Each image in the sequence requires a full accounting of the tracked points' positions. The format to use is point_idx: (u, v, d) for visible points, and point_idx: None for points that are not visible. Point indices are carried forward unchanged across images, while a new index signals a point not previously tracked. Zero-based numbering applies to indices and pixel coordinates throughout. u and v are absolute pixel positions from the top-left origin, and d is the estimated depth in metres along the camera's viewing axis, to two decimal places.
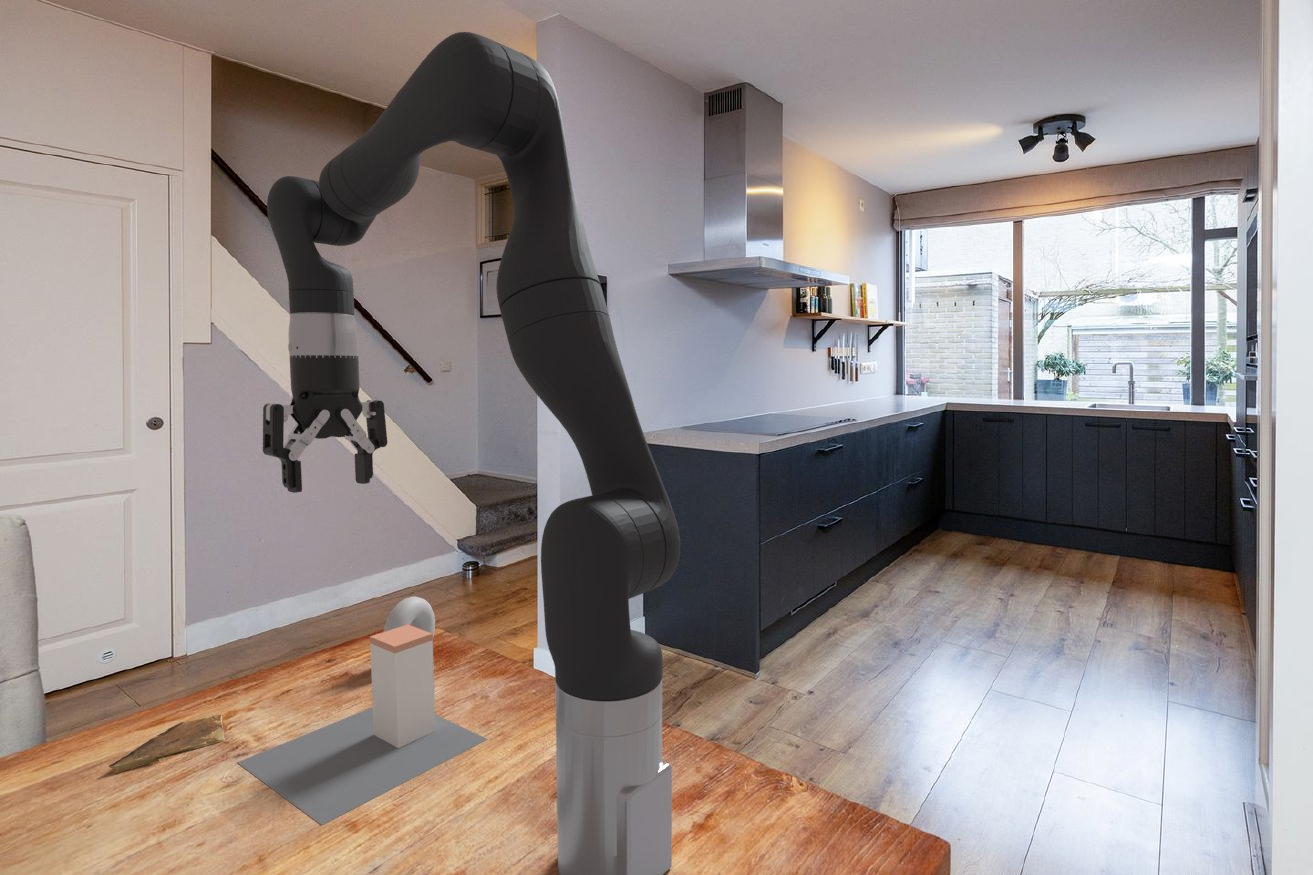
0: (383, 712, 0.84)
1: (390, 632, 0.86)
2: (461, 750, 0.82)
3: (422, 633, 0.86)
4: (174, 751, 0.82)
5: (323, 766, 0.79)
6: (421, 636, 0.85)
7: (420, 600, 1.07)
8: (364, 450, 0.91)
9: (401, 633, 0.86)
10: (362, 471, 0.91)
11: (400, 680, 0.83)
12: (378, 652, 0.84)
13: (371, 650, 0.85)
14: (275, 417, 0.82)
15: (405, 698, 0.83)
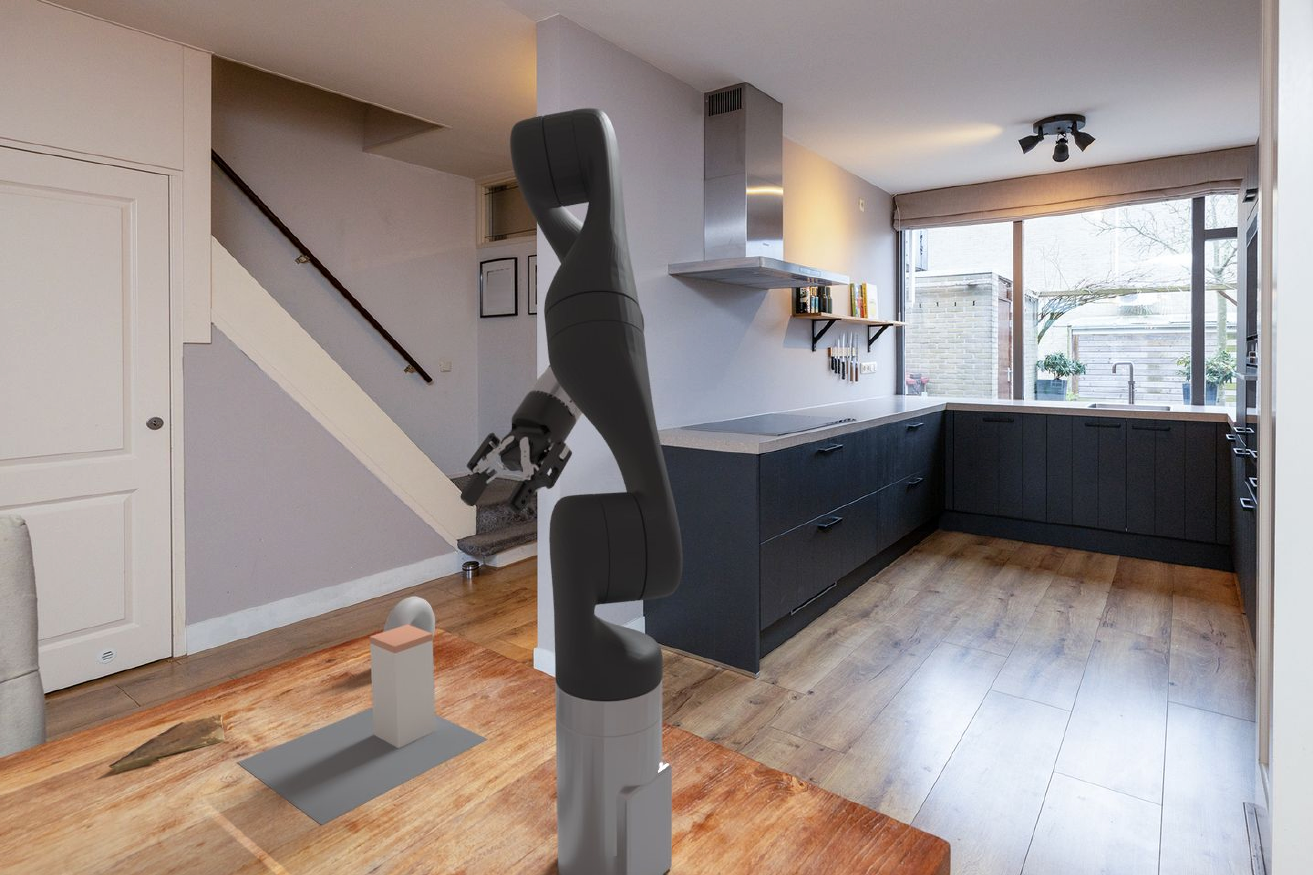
0: (383, 712, 0.84)
1: (390, 632, 0.86)
2: (461, 750, 0.82)
3: (422, 633, 0.86)
4: (174, 751, 0.82)
5: (323, 766, 0.79)
6: (421, 636, 0.85)
7: (420, 600, 1.07)
8: None
9: (401, 633, 0.86)
10: None
11: (400, 680, 0.83)
12: (378, 652, 0.84)
13: (371, 650, 0.85)
14: (485, 441, 0.97)
15: (405, 698, 0.83)
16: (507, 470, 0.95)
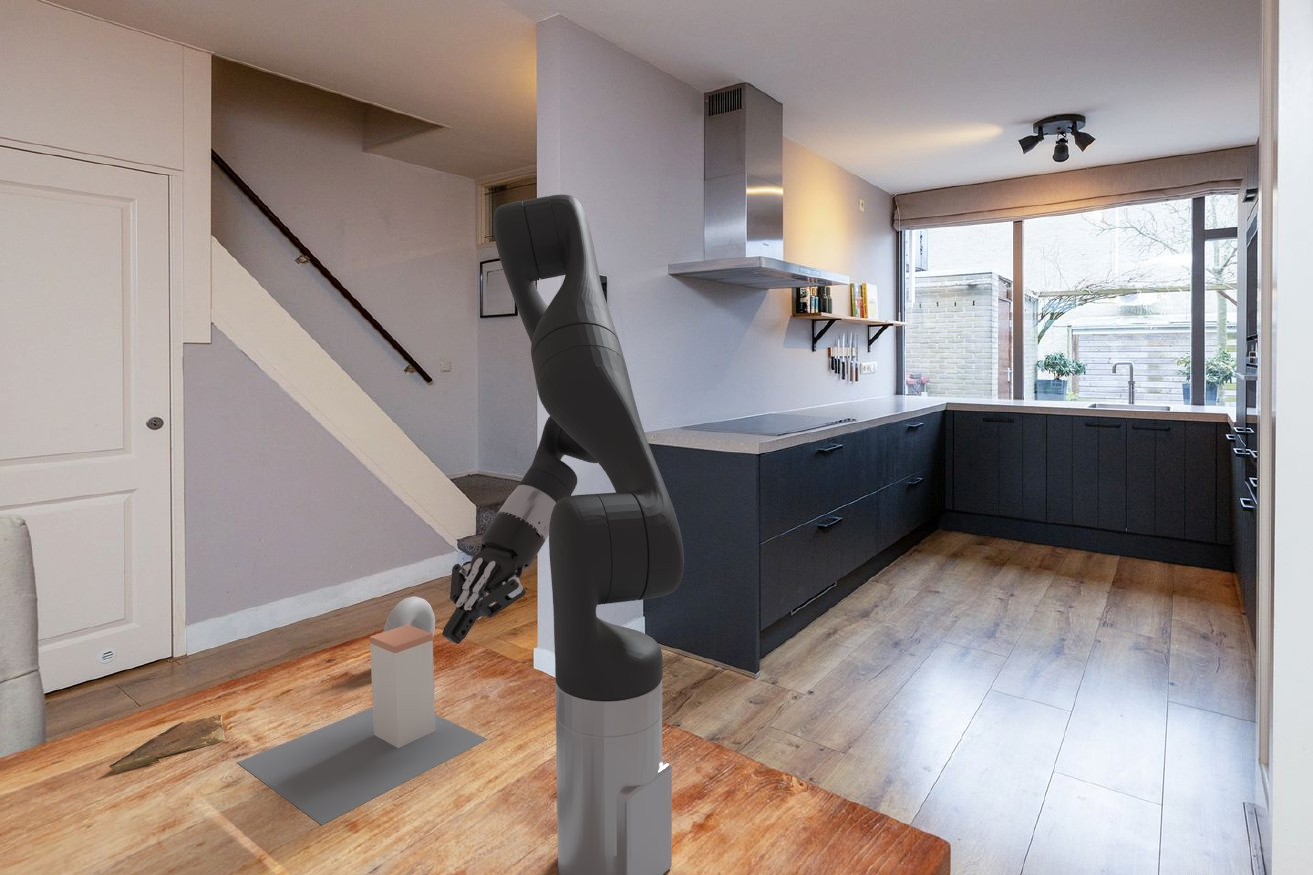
0: (383, 712, 0.84)
1: (390, 632, 0.86)
2: (461, 750, 0.82)
3: (422, 633, 0.86)
4: (174, 751, 0.82)
5: (323, 766, 0.79)
6: (421, 636, 0.85)
7: (420, 600, 1.07)
8: None
9: (401, 633, 0.86)
10: None
11: (400, 680, 0.83)
12: (378, 652, 0.84)
13: (371, 650, 0.85)
14: (453, 573, 0.97)
15: (405, 698, 0.83)
16: None
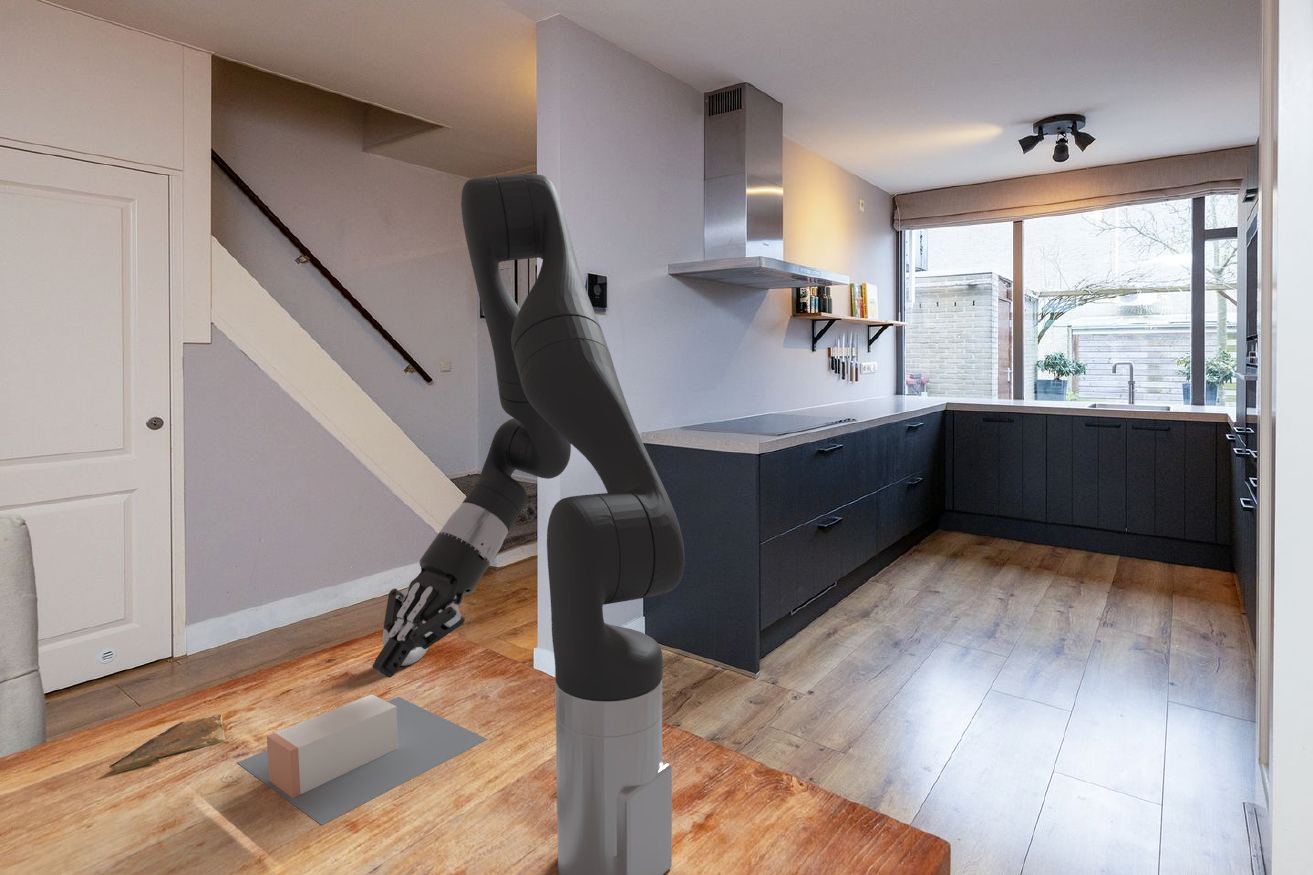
0: None
1: (271, 763, 0.76)
2: (461, 750, 0.82)
3: (285, 754, 0.74)
4: (174, 751, 0.82)
5: None
6: (289, 762, 0.73)
7: None
8: None
9: (277, 761, 0.75)
10: None
11: (332, 773, 0.77)
12: None
13: None
14: (389, 599, 0.90)
15: (353, 759, 0.79)
16: (423, 622, 0.88)
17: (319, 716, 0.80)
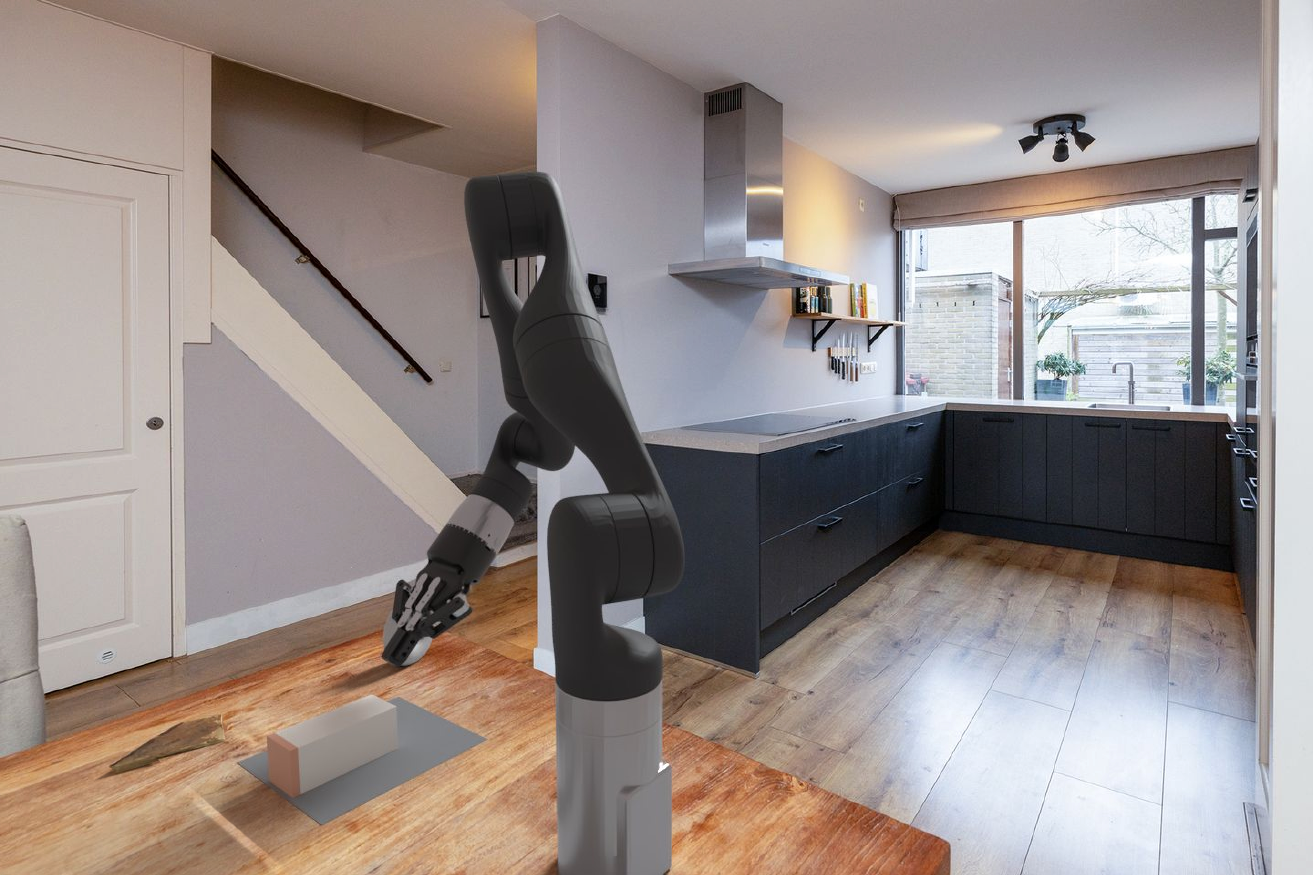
0: None
1: (271, 763, 0.76)
2: (461, 750, 0.82)
3: (285, 754, 0.74)
4: (174, 751, 0.82)
5: None
6: (289, 762, 0.73)
7: None
8: None
9: (277, 761, 0.75)
10: None
11: (332, 773, 0.77)
12: None
13: None
14: (397, 590, 0.91)
15: (353, 759, 0.79)
16: (431, 612, 0.89)
17: (319, 716, 0.80)
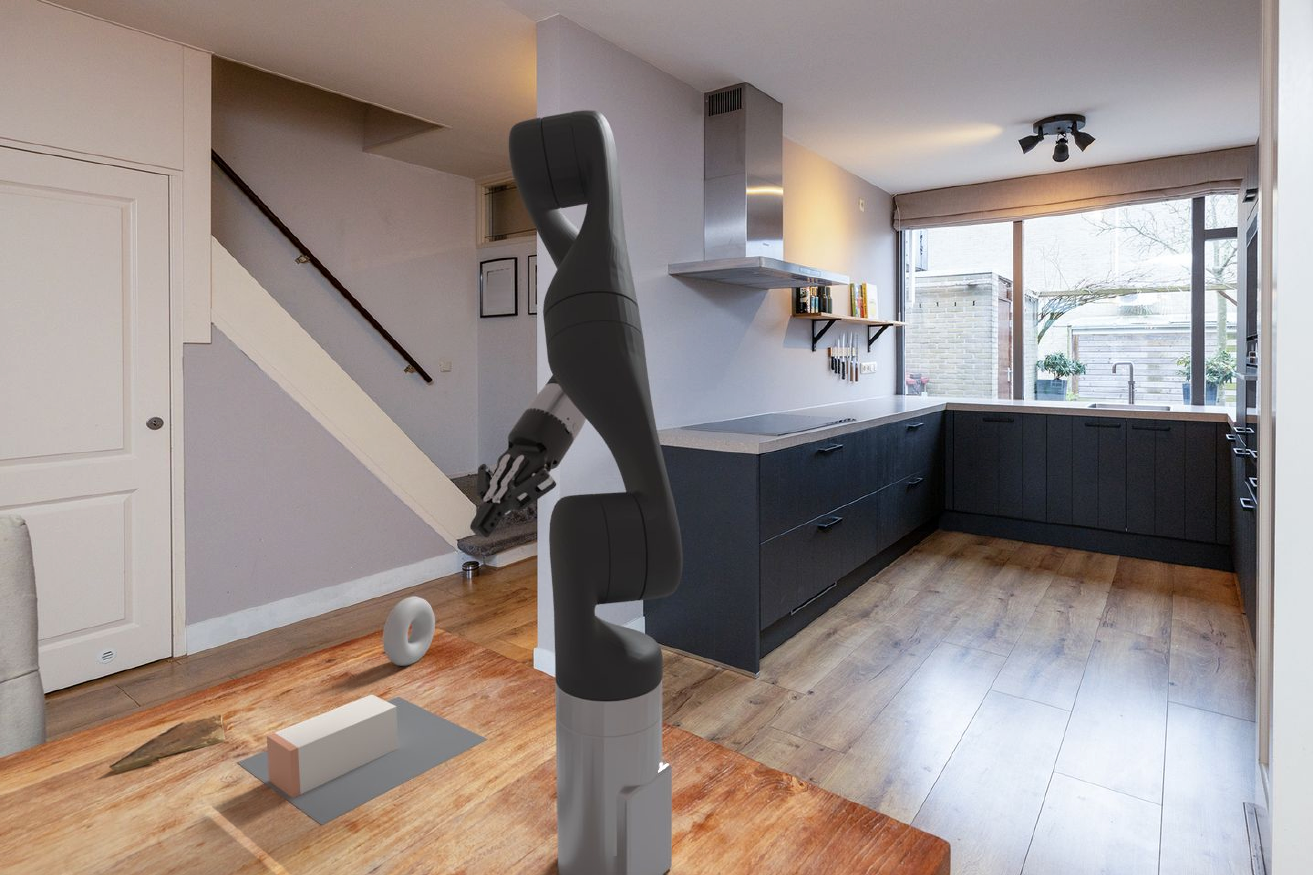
0: None
1: (271, 763, 0.76)
2: (461, 750, 0.82)
3: (285, 754, 0.74)
4: (174, 751, 0.82)
5: None
6: (289, 762, 0.73)
7: (420, 600, 1.07)
8: None
9: (277, 761, 0.75)
10: None
11: (332, 773, 0.77)
12: None
13: None
14: (479, 473, 0.94)
15: (353, 759, 0.79)
16: None
17: (319, 716, 0.80)
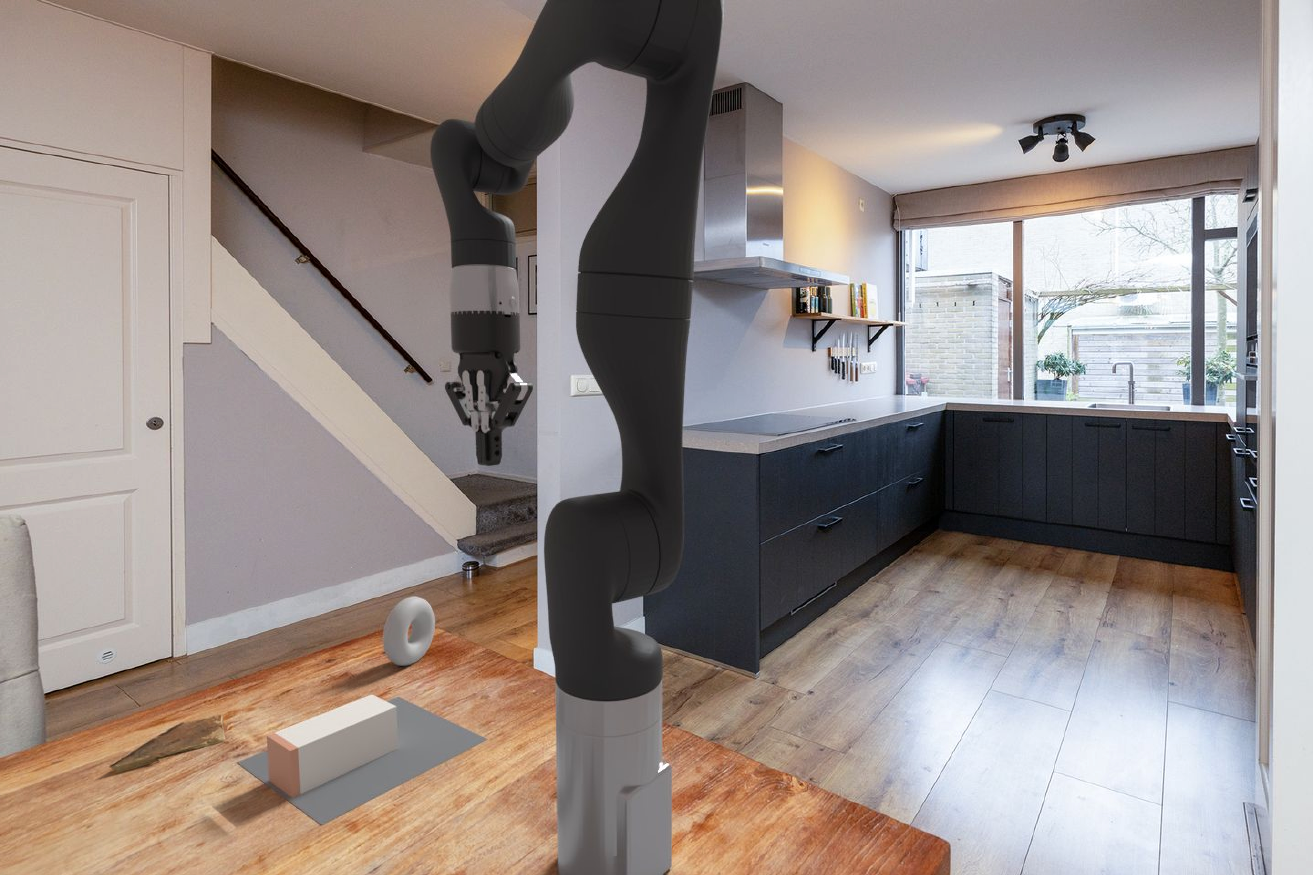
0: None
1: (271, 763, 0.76)
2: (461, 750, 0.82)
3: (285, 754, 0.74)
4: (175, 751, 0.82)
5: None
6: (289, 762, 0.73)
7: (420, 600, 1.07)
8: None
9: (277, 761, 0.75)
10: None
11: (332, 773, 0.77)
12: None
13: None
14: (450, 395, 0.84)
15: (353, 759, 0.79)
16: None
17: (319, 716, 0.80)
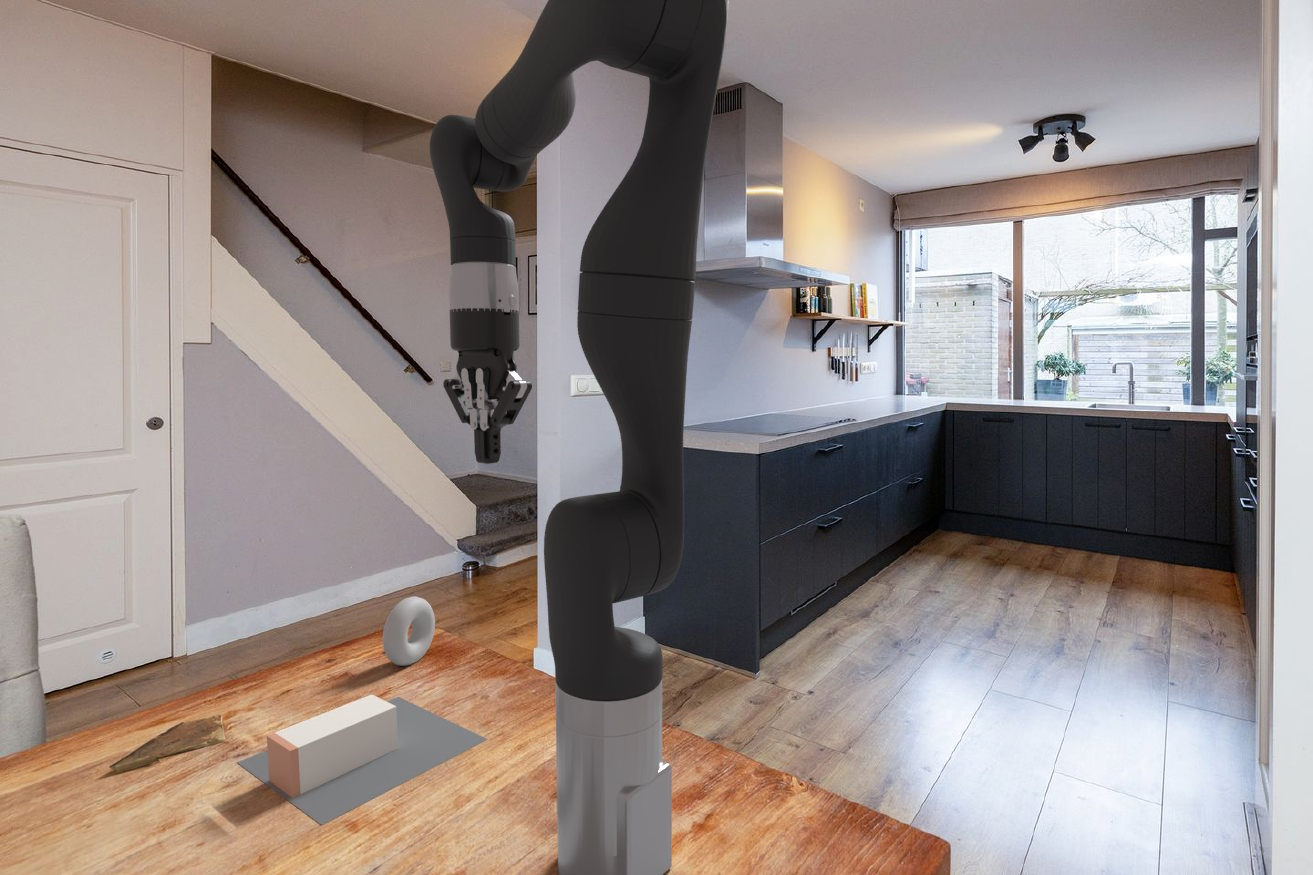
0: None
1: (271, 763, 0.76)
2: (461, 750, 0.82)
3: (285, 754, 0.74)
4: (175, 751, 0.82)
5: None
6: (289, 762, 0.73)
7: (420, 600, 1.07)
8: None
9: (277, 761, 0.75)
10: None
11: (332, 773, 0.77)
12: None
13: None
14: (448, 392, 0.84)
15: (353, 759, 0.79)
16: None
17: (319, 716, 0.80)
